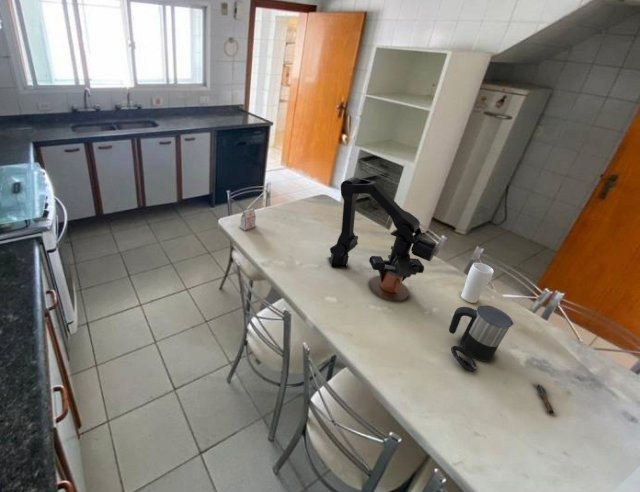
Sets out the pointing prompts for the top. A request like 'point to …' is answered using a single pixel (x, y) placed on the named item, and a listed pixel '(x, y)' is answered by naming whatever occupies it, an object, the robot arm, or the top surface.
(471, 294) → the drinking glass
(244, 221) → the milk carton
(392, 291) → the orange mug
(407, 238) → the robot arm
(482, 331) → the milk frother
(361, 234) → the top surface
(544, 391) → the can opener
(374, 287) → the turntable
